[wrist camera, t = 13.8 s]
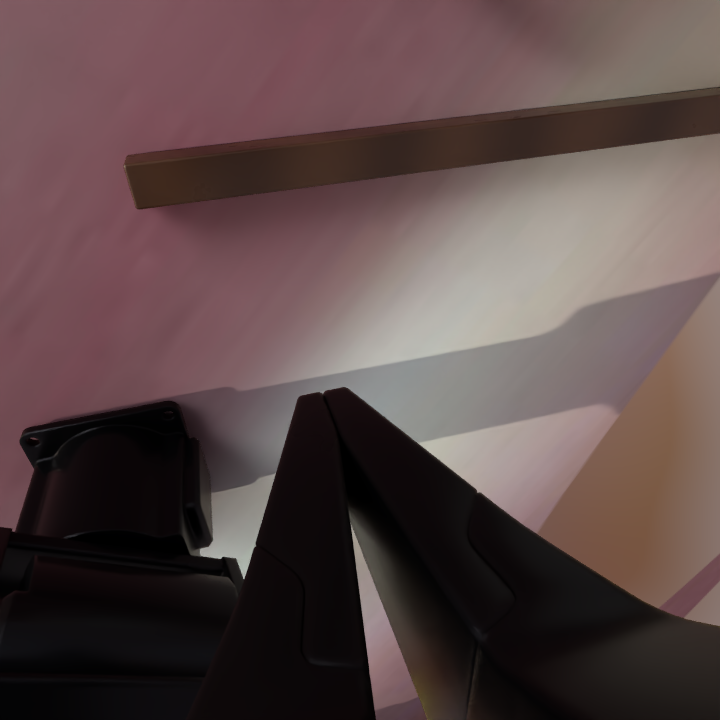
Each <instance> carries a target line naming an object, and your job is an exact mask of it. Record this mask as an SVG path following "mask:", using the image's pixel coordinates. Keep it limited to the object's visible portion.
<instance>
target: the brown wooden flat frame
mask: <svg viewBox="0 0 720 720" xmlns="http://www.w3.org/2000/svg"><path fill="white" fill-rule="evenodd" d="M718 133H720V88H712V89H703V90H694V91H685V92H677V93H668V94H659V95H650V96H642V97H633V98H624V99H615V100H606V101H598V102H589V103H580V104H571V105H563V106H554V107H545V108H536V109H528V110H519V111H510V112H501V113H493V114H484V115H475V116H466V117H458V118H449V119H440V120H431V121H423V122H414V123H405V124H396V125H388V126H379V127H370V128H361V129H353V130H344V131H335V132H326V133H318V134H309V135H300V136H291V137H283V138H274V139H265V140H256V141H248V142H239V143H230V144H221V145H213V146H204V147H195V148H186V149H178V150H169V151H160V152H151V153H143V154H134V155H128V156H127V157H126V160H125V163H124V170H125V173H126V177H127V180H128V183H129V187H130V190H131V194H132V197H133V200H134V204H135V207H136V208H137V209H146V208H154V207H162V206H169V205H177V204H184V203H192V202H200V201H207V200H215V199H223V198H230V197H238V196H245V195H253V194H261V193H268V192H276V191H284V190H291V189H299V188H306V187H314V186H322V185H329V184H337V183H345V182H352V181H360V180H367V179H375V178H383V177H390V176H398V175H406V174H413V173H421V172H428V171H436V170H444V169H451V168H459V167H466V166H474V165H482V164H489V163H497V162H505V161H512V160H520V159H527V158H535V157H543V156H550V155H558V154H566V153H573V152H581V151H588V150H596V149H604V148H611V147H619V146H627V145H634V144H642V143H649V142H657V141H665V140H672V139H680V138H688V137H695V136H703V135H710V134H718Z"/></svg>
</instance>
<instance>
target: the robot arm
mask: <svg viewBox="0 0 720 720" xmlns="http://www.w3.org/2000/svg"><path fill="white" fill-rule="evenodd" d="M166 411H171V412H173V413H172V414H165V413H164V412H166ZM30 438H37V439H39V440H32V439H30ZM20 445H21V447H22V448H23V450H24V452H25V454H26V455H27V457H28V459H29V461H30V462H31V464H32V466H33V468H34V472H33V475H32V478H31V482H30V485H29V488H28V491H27V495H26V498H25V501H24V504H23V508H22V511H21V514H20V517H19V520H18V524H17V527H16V530H15V532H12V529H11V528H4V527H0V720H376V717H375V710H374V703H373V695H372V688H371V680H370V674H369V664H368V657H367V649H366V641H365V633H364V625H363V617H362V610H361V602H360V594H359V586H358V578H357V570H356V563H355V555H354V547H353V539H352V531H351V525H352V528H353V530H354V533H355V535H356V538H357V540H358V543H359V545H360V548H361V551H362V553H363V556H364V558H365V561H366V563H367V566H368V568H369V571H370V574H371V576H372V579H373V581H374V584H375V586H376V589H377V591H378V594H379V597H380V599H381V602H382V604H383V607H384V609H385V612H386V615H387V617H388V620H389V622H390V625H391V627H392V630H393V632H394V635H395V638H396V640H397V643H398V645H399V648H400V650H401V653H402V655H403V658H404V661H405V663H406V666H407V668H408V671H409V673H410V676H411V678H412V681H413V684H414V686H415V689H416V691H417V694H418V696H419V699H420V701H421V704H422V707H423V709H424V712H425V714H426V717H427V719H428V720H720V626H716V625H711V624H706V623H701V622H696V621H692V620H687V619H684V618H681V617H678V616H675V615H672V614H670V613H667V612H665V611H663V610H660V609H658V608H656V607H654V606H652V605H650V604H648V603H646V602H644V601H642V600H640V599H638V598H637V597H635V596H634V595H632V594H630V593H629V592H627V591H625V590H624V589H622V588H620V587H619V586H617V585H616V584H614V583H613V582H611V581H610V580H608V579H606V578H605V577H603V576H601V575H600V574H598V573H597V572H595V571H594V570H592V569H590V568H589V567H587V566H586V565H584V564H582V563H581V562H579V561H578V560H576V559H575V558H573V557H571V556H570V555H568V554H567V553H565V552H564V551H562V550H560V549H559V548H557V547H556V546H554V545H553V544H551V543H549V542H548V541H546V540H545V539H543V538H542V537H541V536H539V535H538V534H536V533H535V532H533V531H532V530H530V529H529V528H527V527H525V526H524V525H523V524H521V523H520V522H519V521H517V520H516V519H514V518H513V517H512V516H510V515H509V514H508V513H506V512H505V511H504V510H502V509H501V508H500V507H498V506H497V505H496V504H494V503H493V502H492V501H491V500H489V499H488V498H487V497H486V496H484V495H483V494H482V493H480V492H479V493H477V490H476V489H475V488H474V487H473V486H471V485H470V484H469V483H468V482H466V481H465V480H464V479H462V478H461V477H460V476H459V475H457V474H456V473H455V472H454V471H452V470H451V469H450V468H448V467H447V466H446V465H445V464H443V463H442V462H441V461H440V460H438V459H437V458H436V457H434V456H433V455H432V454H431V453H429V452H428V451H427V450H426V449H424V448H423V447H422V446H421V445H419V444H418V443H417V442H415V441H414V440H413V439H412V438H410V437H409V436H408V435H407V434H405V433H404V432H403V431H401V430H400V429H399V428H398V427H396V426H395V425H394V424H393V423H391V422H390V421H389V420H387V419H386V418H385V417H384V416H382V415H381V414H380V413H379V412H377V411H376V410H375V409H374V408H372V407H371V406H370V405H368V404H367V403H366V402H365V401H363V400H362V399H361V398H360V397H358V396H357V395H356V394H354V393H353V392H352V391H351V390H349V389H348V388H346V387H342V388H337V389H332V390H327V391H325V392H324V394H322V393H320V392H316V393H311V394H306V395H302V396H300V397H299V398H298V400H297V403H296V407H295V410H294V414H293V417H292V420H291V424H290V427H289V431H288V434H287V438H286V441H285V444H284V448H283V451H282V455H281V458H280V462H279V465H278V468H277V472H276V475H275V479H274V482H273V486H272V489H271V492H270V496H269V499H268V503H267V506H266V510H265V513H264V516H263V520H262V523H261V527H260V530H259V534H258V537H257V540H256V547H255V548H254V550H253V553H252V557H251V560H250V563H249V567H248V570H247V573H246V576H245V579H243V576H242V574H241V571H240V568H239V565H238V563H237V560H236V558H228V557H222V558H221V559H217V558H209V557H202V556H200V549H201V548H205V547H209V545H210V544H211V543H212V541H213V529H212V506H211V484H210V474H209V471H208V467H207V464H206V461H205V458H204V454H203V451H202V448H201V444H200V441H199V440H197V439H196V438H194V437H193V438H190V436H189V433H188V430H187V427H186V424H185V421H184V418H183V414H182V411H181V408H180V406H179V405H178V404H177V403H176V402H173V401H164V402H159V403H153V404H148V405H143V406H138V407H132V408H127V409H122V410H117V411H112V412H106V413H101V414H96V415H91V416H85V417H80V418H75V419H70V420H64V421H59V422H54V423H49V424H44V425H38V426H33V427H29V428H26V429H25V430H24V431H23V432H22V435H21V438H20ZM350 522H351V523H350Z"/></svg>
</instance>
